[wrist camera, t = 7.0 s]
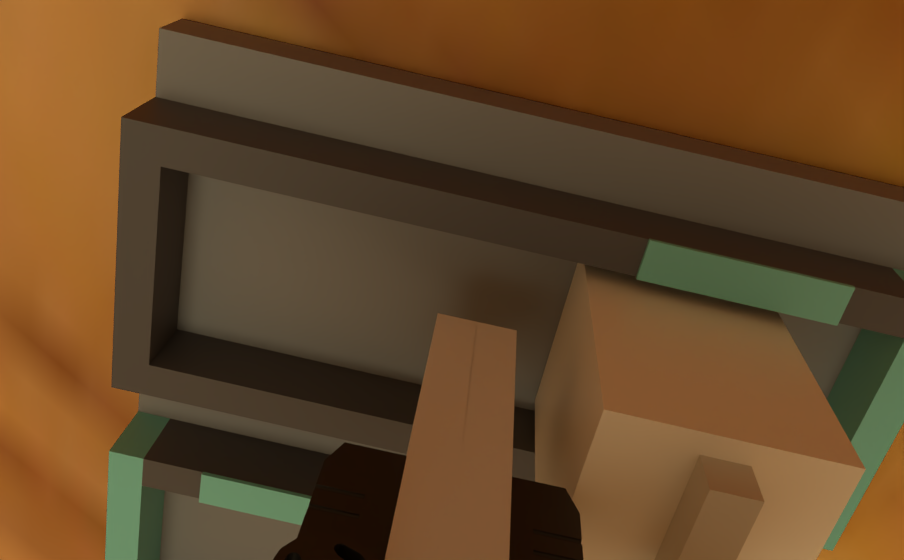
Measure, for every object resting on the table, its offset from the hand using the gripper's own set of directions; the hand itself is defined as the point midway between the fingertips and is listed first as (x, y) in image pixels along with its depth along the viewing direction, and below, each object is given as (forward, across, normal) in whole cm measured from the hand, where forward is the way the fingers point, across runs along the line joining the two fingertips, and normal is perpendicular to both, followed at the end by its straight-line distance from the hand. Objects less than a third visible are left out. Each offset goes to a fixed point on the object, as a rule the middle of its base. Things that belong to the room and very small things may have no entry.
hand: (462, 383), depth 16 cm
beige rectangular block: (+3, +4, 0) cm, 5 cm away
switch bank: (+4, +1, -4) cm, 6 cm away
